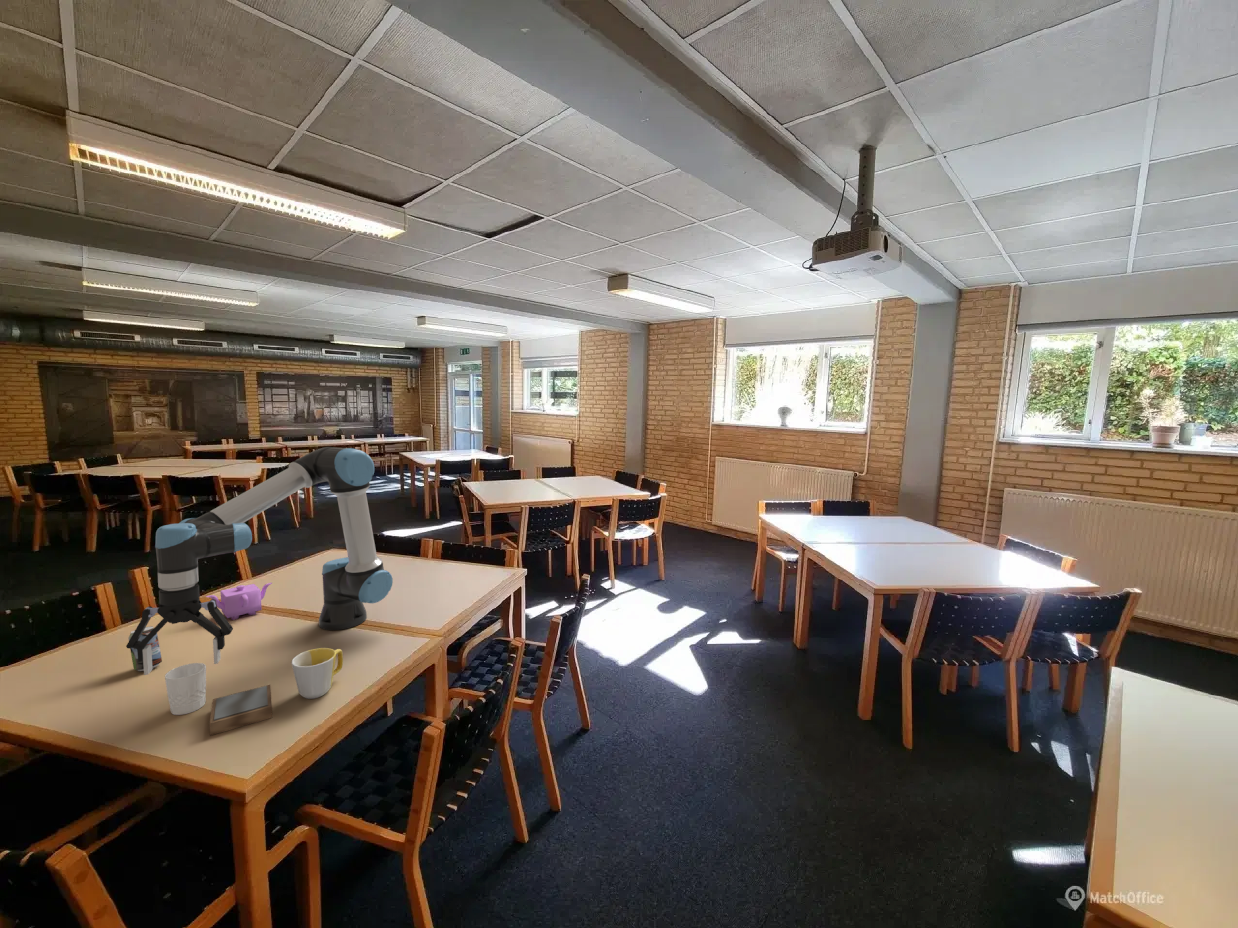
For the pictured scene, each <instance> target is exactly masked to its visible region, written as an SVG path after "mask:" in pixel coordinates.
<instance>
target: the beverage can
mask: <svg viewBox="0 0 1238 928" xmlns="http://www.w3.org/2000/svg"><path fill="white" fill-rule="evenodd" d="M154 628H155V627H154V626H151V625H150V626H146V627H145V629H144V631H143V633H142V634H141V636H140V638H139V640H138V641H142V640H143V639H144V638H145V637H146V636H147V635H148V634H149V633H150V632H151V631H152V630H153V629H154ZM135 630H136V629H134V630H132V631H130V635H128V641H129V640H130V638H131V637H132V635H133V633H134V632H135ZM147 645H151V652H152V668H153V669H154V668H156V667H158V666H160V663H162V662H163V658H162V654H161V646H160V641H159V637H158V632H157V633H156V635H155V636H154V637H153V638H152V639H151V640H150V641H149V642H148V643H147V644H146V646H147ZM129 651H130V655H131V659H132V660H131V662H132V667H133V670H134V671H138V672H144V665H143V661H140V662H139V661H138V652H137V649H135V648H130V650H129Z"/></svg>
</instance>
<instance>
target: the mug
mask: <svg viewBox="0 0 1238 928" xmlns="http://www.w3.org/2000/svg"><path fill="white" fill-rule="evenodd" d="M343 655H344V654H343V650H342V649H340V648H337V649H333V648H330V647H329V648H328V647H320V648H319V647H318V648H314V649H309V650H305V651H303V652H301V653H299V654H297V655H296V656H294V657H293V659H292V660H291V667H292V671H293V675H294V679H295V684H296V686H297V690H298V694H299V695H300V696H301V697H303V698H304V699H307V700H308V699H309V700H310V699H317V698H320V697H323V696H324V695H326V694H327V693H328V691H330V689H331V688H332V686H333V680H334V676H335V675H336V674H338V673H339V672H340V671H341V670H342V668H343V663H344V657H343ZM336 660H337V665H336ZM335 665H336V666H335Z"/></svg>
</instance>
